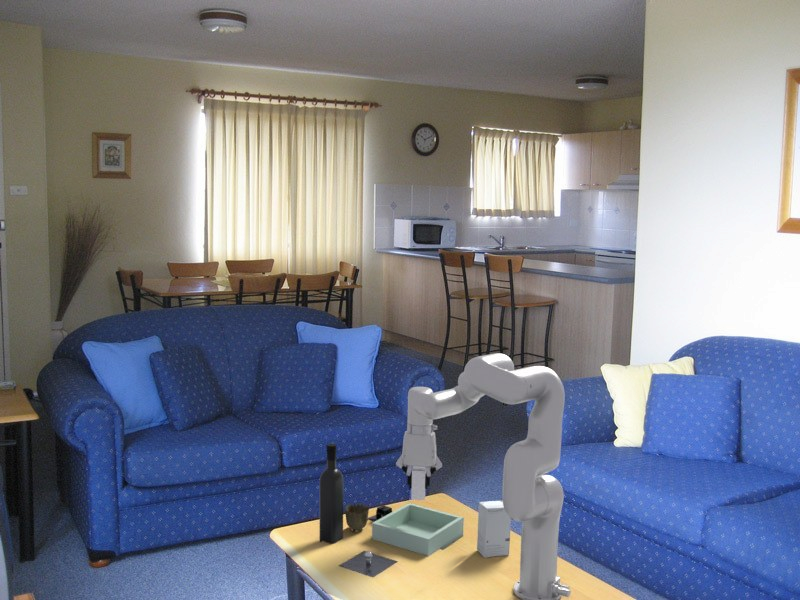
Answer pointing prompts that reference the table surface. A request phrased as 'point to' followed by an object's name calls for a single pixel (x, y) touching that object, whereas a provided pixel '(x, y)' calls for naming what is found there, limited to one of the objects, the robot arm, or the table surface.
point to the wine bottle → (331, 500)
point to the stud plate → (368, 563)
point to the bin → (418, 529)
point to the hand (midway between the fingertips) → (418, 486)
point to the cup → (356, 516)
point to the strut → (418, 483)
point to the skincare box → (493, 529)
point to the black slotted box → (381, 513)
